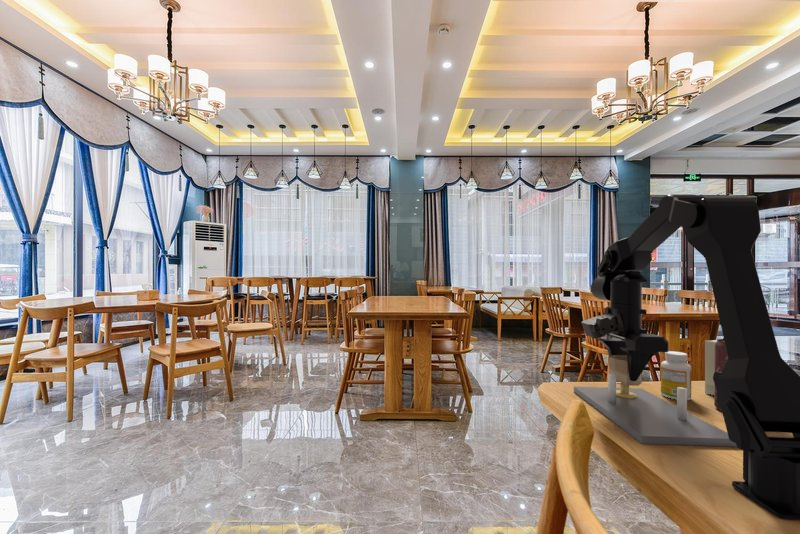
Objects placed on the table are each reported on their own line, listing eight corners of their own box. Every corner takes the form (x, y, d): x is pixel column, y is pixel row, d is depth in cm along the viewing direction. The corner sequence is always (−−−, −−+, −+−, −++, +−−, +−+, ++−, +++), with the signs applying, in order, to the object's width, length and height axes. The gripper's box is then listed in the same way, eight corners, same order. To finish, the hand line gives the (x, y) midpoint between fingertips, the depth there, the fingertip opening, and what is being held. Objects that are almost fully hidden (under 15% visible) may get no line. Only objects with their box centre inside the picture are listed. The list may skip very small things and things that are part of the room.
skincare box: (725, 399, 80) (725, 343, 80) (703, 393, 84) (703, 340, 84) (745, 397, 81) (746, 342, 81) (723, 391, 86) (723, 339, 86)
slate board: (739, 446, 58) (739, 404, 58) (641, 443, 59) (642, 401, 59) (641, 393, 83) (641, 364, 83) (573, 391, 84) (574, 362, 84)
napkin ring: (646, 385, 75) (646, 361, 75) (618, 385, 75) (619, 360, 76) (630, 378, 81) (630, 355, 81) (604, 377, 81) (605, 354, 81)
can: (766, 419, 69) (766, 344, 69) (727, 415, 71) (727, 342, 71) (743, 407, 75) (743, 339, 75) (707, 404, 77) (708, 337, 77)
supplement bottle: (673, 392, 84) (673, 349, 85) (697, 400, 79) (698, 355, 79) (654, 393, 83) (655, 350, 83) (678, 402, 78) (678, 356, 78)
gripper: (568, 299, 88) (568, 364, 88) (610, 307, 69) (609, 390, 69) (616, 300, 88) (615, 366, 87) (671, 308, 69) (670, 391, 69)
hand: (625, 376), depth 78 cm, fingers closed on napkin ring, 5 cm apart
